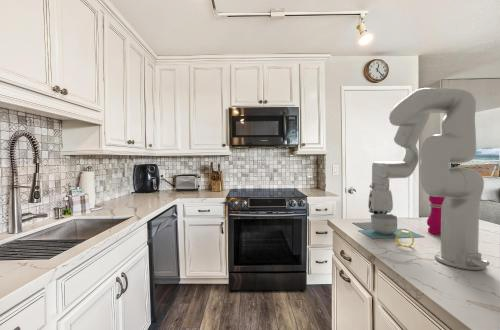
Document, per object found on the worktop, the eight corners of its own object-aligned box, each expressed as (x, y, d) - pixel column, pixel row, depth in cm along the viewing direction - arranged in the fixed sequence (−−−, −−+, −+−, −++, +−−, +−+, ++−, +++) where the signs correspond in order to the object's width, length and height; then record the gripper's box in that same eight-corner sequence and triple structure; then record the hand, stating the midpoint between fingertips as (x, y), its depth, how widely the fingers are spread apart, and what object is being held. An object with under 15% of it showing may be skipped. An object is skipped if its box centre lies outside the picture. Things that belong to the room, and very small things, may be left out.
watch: (413, 247, 97) (415, 232, 96) (412, 249, 94) (414, 234, 94) (395, 242, 100) (397, 228, 100) (394, 244, 98) (396, 230, 98)
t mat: (424, 237, 107) (424, 236, 107) (372, 238, 105) (372, 238, 105) (388, 222, 132) (388, 221, 132) (345, 223, 130) (345, 223, 130)
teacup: (386, 238, 106) (386, 219, 106) (365, 230, 116) (365, 214, 116) (407, 233, 112) (407, 216, 111) (385, 227, 122) (385, 211, 121)
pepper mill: (439, 230, 116) (440, 188, 116) (450, 235, 109) (451, 190, 109) (423, 230, 117) (423, 188, 117) (433, 235, 110) (433, 190, 109)
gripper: (370, 188, 115) (369, 227, 116) (400, 188, 116) (399, 226, 117) (361, 186, 122) (360, 222, 123) (389, 185, 123) (389, 221, 124)
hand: (379, 224), depth 120 cm, fingers closed
